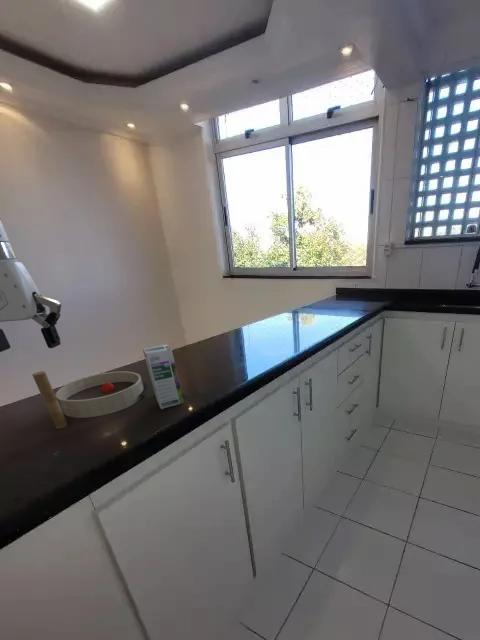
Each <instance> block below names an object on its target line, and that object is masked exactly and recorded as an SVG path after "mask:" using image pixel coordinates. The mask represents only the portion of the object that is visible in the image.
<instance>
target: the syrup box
mask: <svg viewBox="0 0 480 640" xmlns="http://www.w3.org/2000/svg"><path fill="white" fill-rule="evenodd" d="M142 352H143V356H144V361H145V363H146V366H147V371H148V374H149V377H150V381H151V384H152V388H153V393H154V395H155V400H156V402H157V404H158V406H159V409H160V410H164V409H167V408H171V407H175V406H178V405H183V404H185V401H184V396H183V392H182V388H181V384H180V380H179V375H178V371H177V366H176V362H175V358H174V354H173V350H172V348H171V347H170V345H168V344H161V345H156V346H151V347H143V348H142Z"/></svg>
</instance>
